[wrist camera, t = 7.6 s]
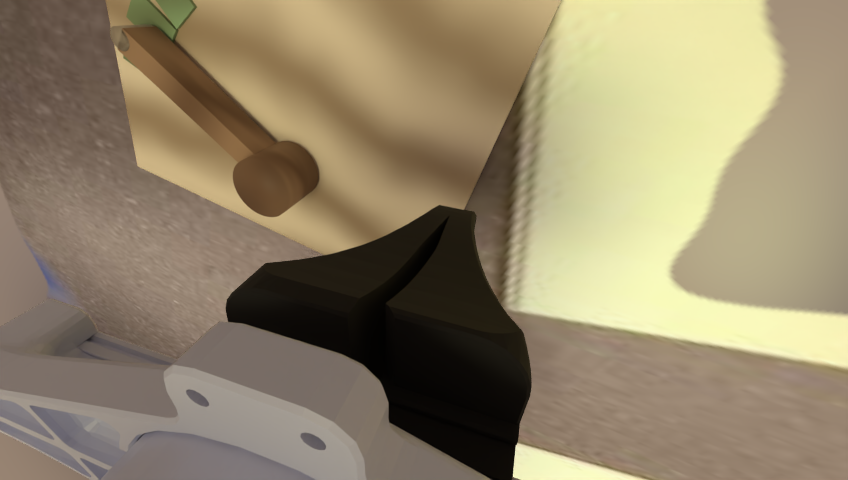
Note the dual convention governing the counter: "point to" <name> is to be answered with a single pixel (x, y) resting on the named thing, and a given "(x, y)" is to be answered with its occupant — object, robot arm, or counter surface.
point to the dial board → (341, 100)
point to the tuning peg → (222, 123)
